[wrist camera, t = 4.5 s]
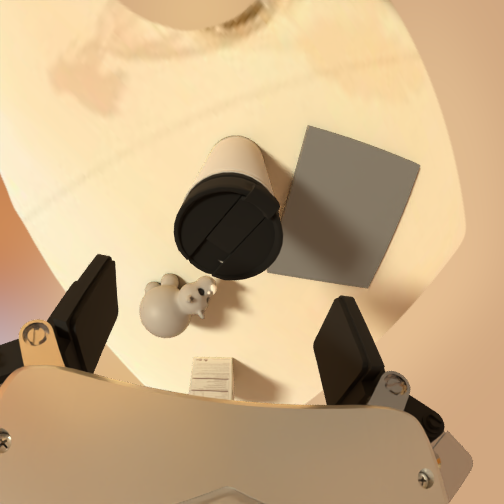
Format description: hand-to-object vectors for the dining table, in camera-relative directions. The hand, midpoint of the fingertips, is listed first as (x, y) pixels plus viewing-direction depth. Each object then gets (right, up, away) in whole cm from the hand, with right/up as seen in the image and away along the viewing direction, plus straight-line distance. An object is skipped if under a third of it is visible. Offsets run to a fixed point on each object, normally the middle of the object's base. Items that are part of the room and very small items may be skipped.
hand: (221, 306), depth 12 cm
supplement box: (-6, -20, +40) cm, 45 cm away
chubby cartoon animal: (-9, -2, +30) cm, 31 cm away
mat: (+13, +7, +25) cm, 29 cm away
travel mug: (-1, +13, +21) cm, 25 cm away
